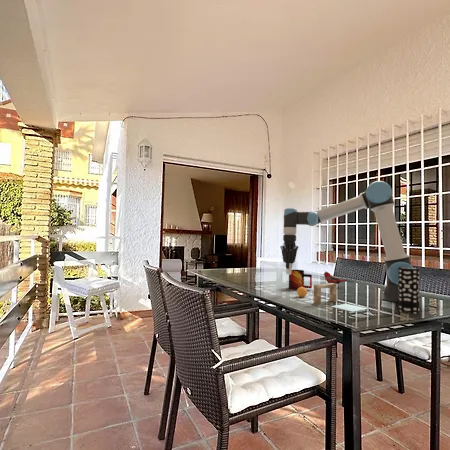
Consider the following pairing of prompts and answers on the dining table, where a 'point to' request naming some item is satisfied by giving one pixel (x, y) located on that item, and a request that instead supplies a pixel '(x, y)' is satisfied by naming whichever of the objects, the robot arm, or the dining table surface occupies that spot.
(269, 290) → the dining table surface
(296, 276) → the mug
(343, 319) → the dining table surface
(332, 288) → the bridge
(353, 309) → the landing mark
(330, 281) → the decorative bird figurine
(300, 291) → the ball
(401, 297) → the white-spotted black cylinder
